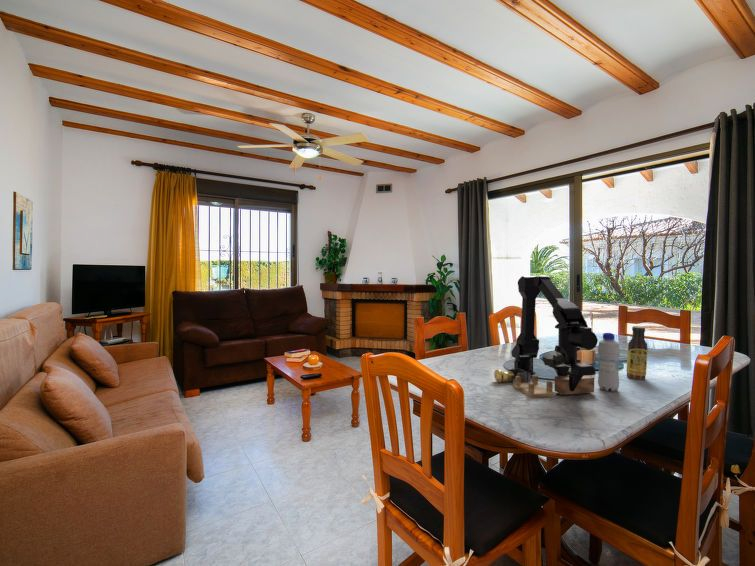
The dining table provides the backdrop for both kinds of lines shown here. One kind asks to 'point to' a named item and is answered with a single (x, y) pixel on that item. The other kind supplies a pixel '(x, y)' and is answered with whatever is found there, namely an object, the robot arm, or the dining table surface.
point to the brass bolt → (503, 376)
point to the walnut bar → (583, 386)
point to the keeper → (521, 374)
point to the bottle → (608, 363)
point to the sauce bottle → (637, 355)
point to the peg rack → (534, 387)
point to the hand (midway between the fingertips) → (567, 389)
